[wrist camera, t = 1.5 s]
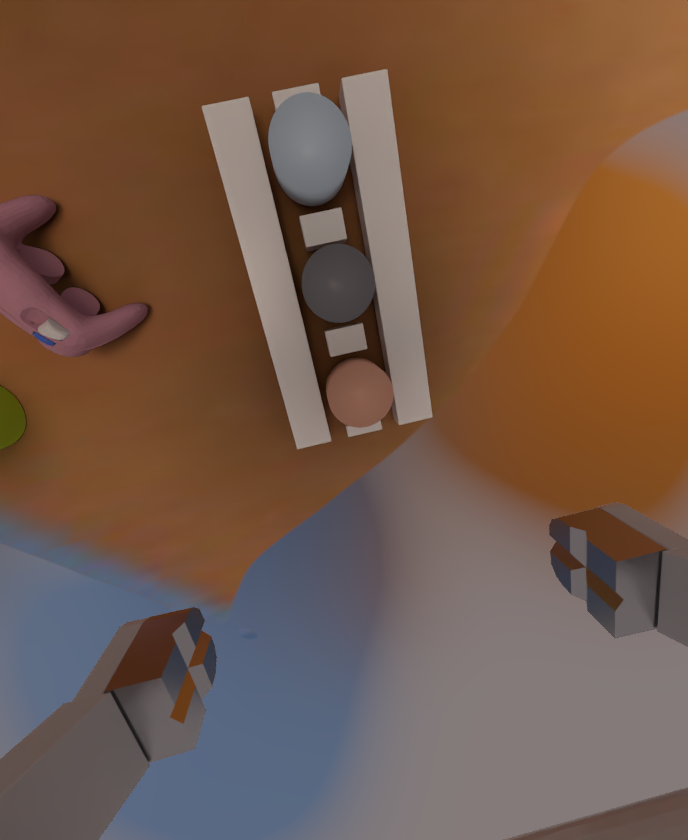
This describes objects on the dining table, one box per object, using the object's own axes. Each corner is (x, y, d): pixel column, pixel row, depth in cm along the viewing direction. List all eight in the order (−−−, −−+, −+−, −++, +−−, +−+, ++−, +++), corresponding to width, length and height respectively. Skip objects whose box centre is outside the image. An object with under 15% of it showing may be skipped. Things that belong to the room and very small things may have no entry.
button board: (209, 122, 23) (201, 106, 21) (380, 88, 24) (387, 68, 22) (297, 440, 31) (297, 449, 29) (425, 410, 31) (432, 417, 29)
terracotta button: (319, 365, 28) (321, 371, 25) (379, 351, 28) (387, 356, 25) (332, 421, 29) (335, 434, 26) (389, 408, 29) (398, 419, 26)
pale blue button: (264, 127, 22) (257, 101, 19) (338, 112, 22) (342, 84, 20) (283, 212, 24) (280, 200, 21) (352, 198, 24) (359, 183, 21)
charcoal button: (294, 258, 25) (293, 252, 22) (360, 244, 25) (367, 236, 22) (310, 327, 27) (311, 329, 24) (372, 313, 27) (380, 314, 24)
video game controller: (29, 232, 25) (-92, 243, 20) (49, 187, 23) (-83, 185, 17) (132, 341, 28) (52, 377, 23) (159, 311, 26) (77, 343, 20)
